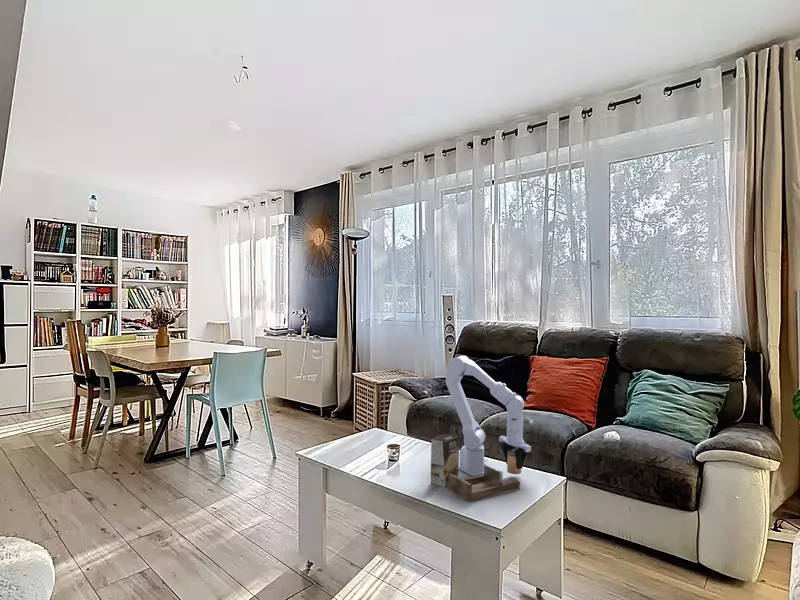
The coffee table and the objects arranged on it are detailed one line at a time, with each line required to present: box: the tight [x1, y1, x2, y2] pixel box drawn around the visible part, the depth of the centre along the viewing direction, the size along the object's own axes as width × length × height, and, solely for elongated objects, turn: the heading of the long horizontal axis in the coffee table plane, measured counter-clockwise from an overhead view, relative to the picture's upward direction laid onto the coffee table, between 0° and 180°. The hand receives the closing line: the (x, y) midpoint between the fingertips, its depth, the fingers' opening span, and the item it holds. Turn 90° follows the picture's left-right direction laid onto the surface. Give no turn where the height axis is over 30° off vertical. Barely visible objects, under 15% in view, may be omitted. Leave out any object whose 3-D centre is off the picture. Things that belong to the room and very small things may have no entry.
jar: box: [506, 448, 522, 475], centre depth 181 cm, size 5×5×8 cm
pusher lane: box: [447, 473, 521, 503], centre depth 170 cm, size 12×22×6 cm, turn 120°
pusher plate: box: [484, 463, 504, 486], centre depth 172 cm, size 8×1×6 cm, turn 30°
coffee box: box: [430, 433, 460, 488], centre depth 176 cm, size 9×6×16 cm
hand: (514, 466), depth 181 cm, fingers closed on jar, 5 cm apart
